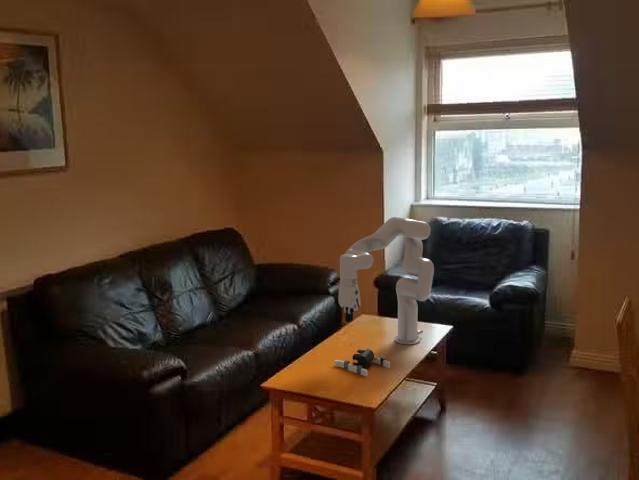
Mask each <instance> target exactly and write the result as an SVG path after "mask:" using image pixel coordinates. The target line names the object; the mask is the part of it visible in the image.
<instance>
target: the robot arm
mask: <svg viewBox="0 0 639 480" xmlns="http://www.w3.org/2000/svg"><path fill="white" fill-rule="evenodd" d="M431 231H432V229H431V226H430V225H429V223H428V222H426V221H422V220H421V221H420V220H415V219H410V218H406V217H396V216H394V217H393V216H391V217H390V218H388V220H386V221H385V222H384V223H383V224H381V226H380V227H379V228H378V229H377V230H376V231H375V232H374V233H373V234H371V235H368V236H365V237H364V238H362V239H359V240H357V241H356V242H355V243H353V244H352V245H351V246H350V247H349V248H348V249H347V250H346V251H345V253H343V254H341V255H340V256H339V279H340V280H339V286H338V299H337V300H338V304H339V306H340V308H342V309H343V312H344V313H345V315H344V317H345V319H344V320H345V323H351V322H353V321H354V313H355V312H356V311H359V307H361V292H360V286H359V285H358V284H359V282H358V270H367V269H369V268H371V267H372V266H373V264H374V261H375V260H374V257H373V255H372V253H371V254H370V253H369V252H372V251H379V250H383V249H386V248H387V247H388V246H390V244H391V243H392V242H393V241H394V240H395V239H396V238H397V237H402V239H403V241H404V245H405V247H404V254H403V261H402V272H403V273H404V274H405V275H408V276H411V277H416V278H417V279H415V278H411V277H402V278H400V279H398V281H397V282H396V284H395V291H396V296H397V298H396V299H397V336H395V337H394V342H396V343H398V344H399V345H409V346H410V345H417V344H418V343H420V342H421V337H420V336H419V335H421V334H423V333H424V330H423V329H418V312H419V311H418V309H419V308H418V307H419V306H418V302H417V301H419V302H425V301H426V300H428V299H429V297H430V295H431V291H432V285H433V279H434V275H435V274H434V273H435V266H434V263H433V262H432V260H431V259H429V258H425V257H423V251H424V245H423V244H424V243H423V242H422V240H426V239H428V238H429V237H430V235H431Z"/></svg>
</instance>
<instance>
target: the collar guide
mask: <svg viewBox="0 0 639 480" xmlns="http://www.w3.org/2000/svg"><path fill="white" fill-rule="evenodd" d="M370 363H374V364H377V365H379V366H381V367H385V368H388V369H389V368H391V361H388V360H387V357H385V356H381V357H379V356H375V355H374V359H373V360H372V361H371V362H370ZM334 367H340V368H343V369H344V370H346V371H347V370H348V371H351V372H353V373H356V375H359V376H360V375H361V376H364V377H368V374H369V371H368V369H366V368H365V369H363V366H361V365H358V366H356V365H353V363H352V364H351V362H350V360H340V359H335V360H334Z"/></svg>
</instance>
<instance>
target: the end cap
mask: <svg viewBox="0 0 639 480" xmlns="http://www.w3.org/2000/svg"><path fill="white" fill-rule="evenodd" d="M374 356H375V353H374V352H373V350H371V349H370V348H367V349H357V351H356V353H354V354H353V355H352V360H353V362H352V364H353V365H356V366H358V365H361V366H363V369H366V368H367V367H368V366H369V365H370V364H371V363H372V362H371V361H372V360H373V359H374ZM354 361H355V362H354Z"/></svg>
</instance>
